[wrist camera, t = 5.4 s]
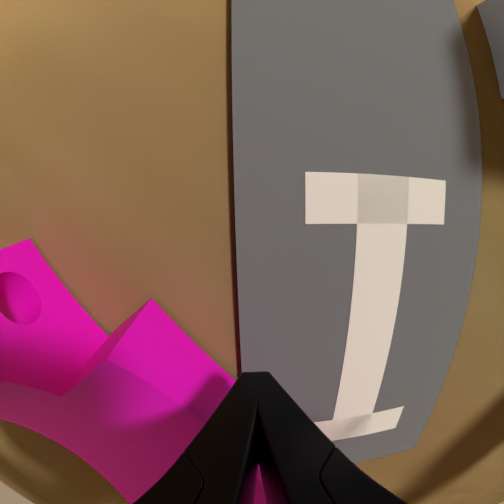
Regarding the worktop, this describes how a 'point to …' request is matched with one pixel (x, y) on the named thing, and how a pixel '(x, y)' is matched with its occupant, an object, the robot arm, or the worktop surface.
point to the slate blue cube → (495, 34)
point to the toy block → (101, 378)
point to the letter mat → (354, 207)
